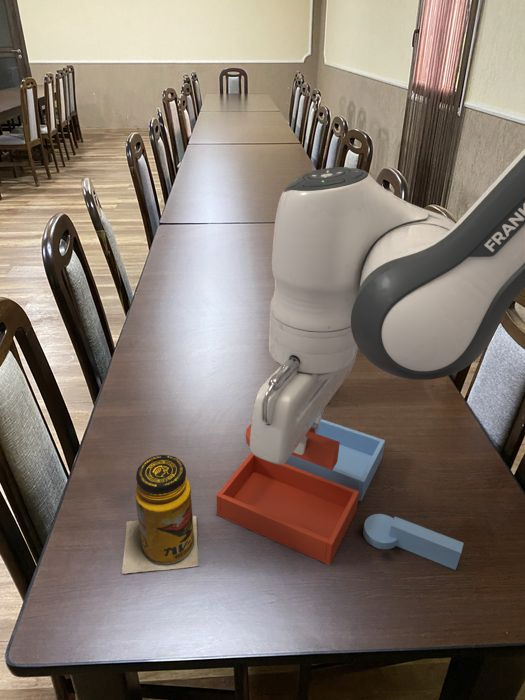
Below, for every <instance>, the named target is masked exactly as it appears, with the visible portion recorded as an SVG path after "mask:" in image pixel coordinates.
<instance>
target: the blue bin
mask: <svg viewBox="0 0 525 700" xmlns="http://www.w3.org/2000/svg"><path fill="white" fill-rule="evenodd" d="M317 434H319V435H321V436H324V437H327V438H330V439H333V440H336V441H338V442H340V445H339V453H338V461H337V463H336V465H335V467H334V468H333V470H329V469H327V468H324V467H322V466H319V465H316V464H314V463H311V462H308V461H306V460H303V459H300V458H298V457H295V456H293V455H291V456H290V457H289V459H288V460H287V461H286V463H285V464H288V465H291V466H293V467H296V468H299V469H301V470H304V471H307V472H309V473H312V474H315V475H317V476H320V477H323V478H325V479H328V480H331V481H333V482H336V483H338V484H341V485H344V486H346V487H349V488H352V489H354V490H357V491H359V497H358V502H362V500H363V499H364V496H365V495H366V492H367V490H368V488H369V486H370V484H371V482H372V480H373V478H374V476H375V474H376V472H377V470H378V469H379V467H380V464H381V462H382V460H383V455H384V451H385V445H386V439H383V438H379V437H376V436H373V435H371V434H368V433H364V432H362V431H358V430H355V429H352V428H350V427H346V426H344V425H341V424H337V423H334V422H332V421H328V420H327V419H326V420H325V419H323V418H321V421H320V427H319V432H318V433H317Z"/></svg>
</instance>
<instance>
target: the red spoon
mask: <svg viewBox="0 0 525 700" xmlns="http://www.w3.org/2000/svg"><path fill="white" fill-rule="evenodd" d="M250 434H251V424H249V425H248V426H247V428H246V430H245V442H246V444H247V446H248V447H249V448H250ZM306 435H307V436H310V437H309V446H308V448H307V449H306V451H305V452H304V453H303V455H299V454H296V453H294V452H293V453H292V454H291V455H293V456H295V457H298V458H300V459H303V460H306V461H308V462H311V463H314V464H316V465H319V466H322V467H324V468H327V469H329V470H333V468H334V467H335V465H336V463H337V461H338V453H339V445H340V442H338V441H336V440H333V439H330V438H327V437H324V436H321V435H319V434H316V433H313V432H310V431H308V432H307V433H306Z"/></svg>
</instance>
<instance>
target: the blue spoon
mask: <svg viewBox="0 0 525 700" xmlns="http://www.w3.org/2000/svg"><path fill="white" fill-rule="evenodd" d="M362 529H363V530H362V535H363V537H364V539H365V541H366V542H367V543H368V544H369V545H370V546H372V547H374V548H376V549H377V550H392V549H393V548H395V547H398V548H400V549H402V550H405V551H408V552H410V553H411V554H415V555H416V556H420V557H422V558H425V559H427V560H429V561H432V562H434V563H437V564H439V565H442V566H444V567H446V568H449V569H452V570H454V571H456V570H457V567H458V564H459V561H460V558H461V555H462V551H463V549H464V548H463V547H464V542H462V541H461V540H460V541H459V540H457V539H454V538H452V537H450V536H447V535H444V534H442V533H439V532H436V531H433V530H431V529H429V528H426V527H423V526H421V525H419V524H416V523H413V522H411V521H408V520H406V519H403V518H400V517H398V516H394V517H392V516H390V515H387V514H383V513H375V514H371V515H369V516H368V517H366V519H365V521H364V522H363V527H362Z"/></svg>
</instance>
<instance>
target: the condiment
mask: <svg viewBox="0 0 525 700" xmlns="http://www.w3.org/2000/svg"><path fill="white" fill-rule="evenodd" d="M135 480H136V488H135V491H134V498H135V505H136V511H137V518H138V520H127V521H126V525H125V526H126V527H125V537H124V538H125V539H124V549H123V559H122V568H121V575H125V574H136V573H141V572H142V573H143V572H153V571H166V570H168V571H169V570H176V569H185V568H186V569H187V568H193V567H198V566H199V557H198V556H199V550H198V529H197V528H198V527H197V515H193V504H192V503H193V502H192V489H191V488H192V487H191V484H190V481H189V480H188V477H187V470H186V466H185V465H184V462H182V461H181V460H180V459H179V458H177V457H176V456H172V455H168V454H158V455H157V454H156V455H154V456H153V455H152V456H151V457H148V458H147V459H146V460H144V461H143V462H142V463H141V464H140V465H139V467H138V468H137V471H136V475H135Z"/></svg>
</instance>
